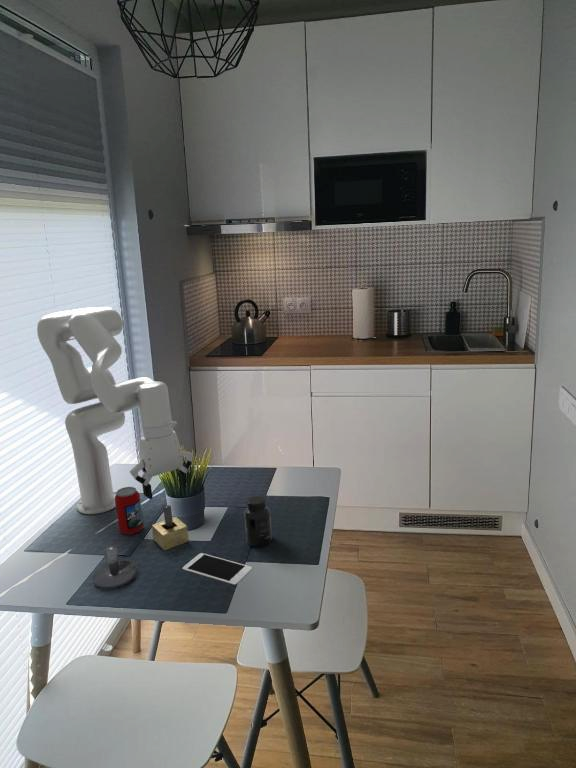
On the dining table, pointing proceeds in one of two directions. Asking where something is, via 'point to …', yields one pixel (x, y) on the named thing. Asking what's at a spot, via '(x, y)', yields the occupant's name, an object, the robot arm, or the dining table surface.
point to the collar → (170, 534)
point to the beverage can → (129, 510)
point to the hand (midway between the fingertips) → (166, 491)
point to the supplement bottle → (257, 522)
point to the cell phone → (217, 568)
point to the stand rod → (168, 517)
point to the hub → (114, 572)
